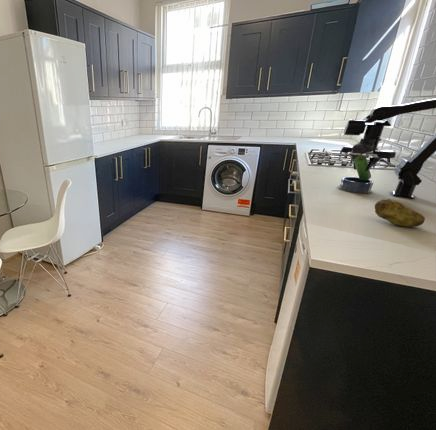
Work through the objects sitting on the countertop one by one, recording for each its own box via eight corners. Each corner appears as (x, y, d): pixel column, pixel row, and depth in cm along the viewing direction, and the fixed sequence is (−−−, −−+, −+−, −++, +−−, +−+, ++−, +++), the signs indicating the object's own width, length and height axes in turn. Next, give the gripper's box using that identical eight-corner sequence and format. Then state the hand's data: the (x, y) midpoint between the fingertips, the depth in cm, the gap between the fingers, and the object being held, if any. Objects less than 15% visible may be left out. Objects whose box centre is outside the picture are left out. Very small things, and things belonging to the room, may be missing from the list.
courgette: (359, 173, 137) (353, 155, 129) (371, 172, 133) (366, 153, 126) (358, 181, 135) (352, 162, 128) (370, 180, 132) (365, 160, 124)
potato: (418, 232, 90) (428, 209, 87) (367, 220, 100) (375, 199, 97) (422, 226, 95) (432, 204, 92) (373, 215, 104) (381, 194, 101)
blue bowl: (340, 185, 142) (343, 175, 140) (370, 189, 135) (373, 179, 133) (337, 190, 134) (341, 180, 132) (369, 195, 127) (373, 184, 125)
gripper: (338, 135, 130) (328, 168, 136) (387, 139, 114) (374, 176, 120) (352, 133, 134) (342, 166, 140) (402, 138, 118) (388, 174, 124)
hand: (360, 170), depth 131 cm, fingers closed on courgette, 4 cm apart
